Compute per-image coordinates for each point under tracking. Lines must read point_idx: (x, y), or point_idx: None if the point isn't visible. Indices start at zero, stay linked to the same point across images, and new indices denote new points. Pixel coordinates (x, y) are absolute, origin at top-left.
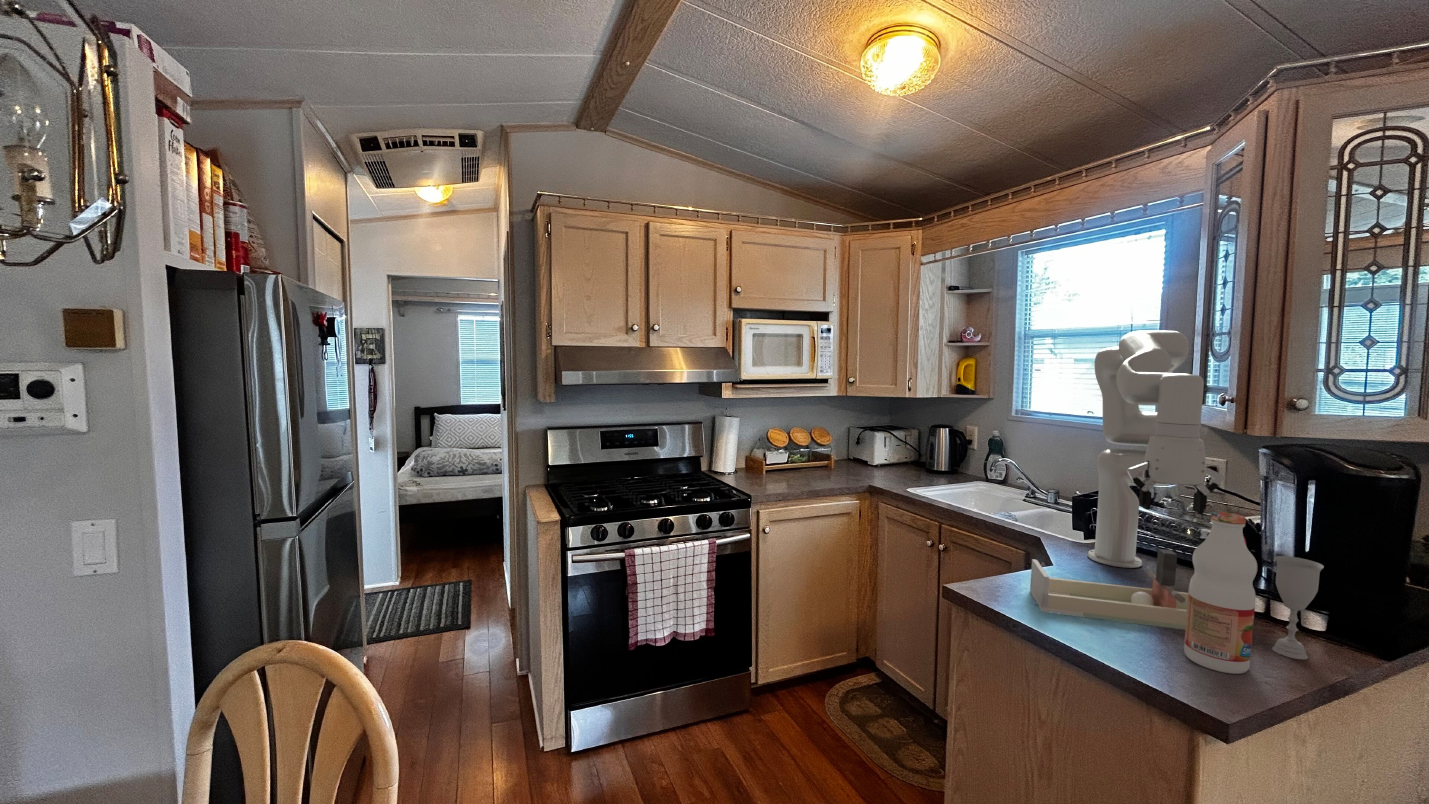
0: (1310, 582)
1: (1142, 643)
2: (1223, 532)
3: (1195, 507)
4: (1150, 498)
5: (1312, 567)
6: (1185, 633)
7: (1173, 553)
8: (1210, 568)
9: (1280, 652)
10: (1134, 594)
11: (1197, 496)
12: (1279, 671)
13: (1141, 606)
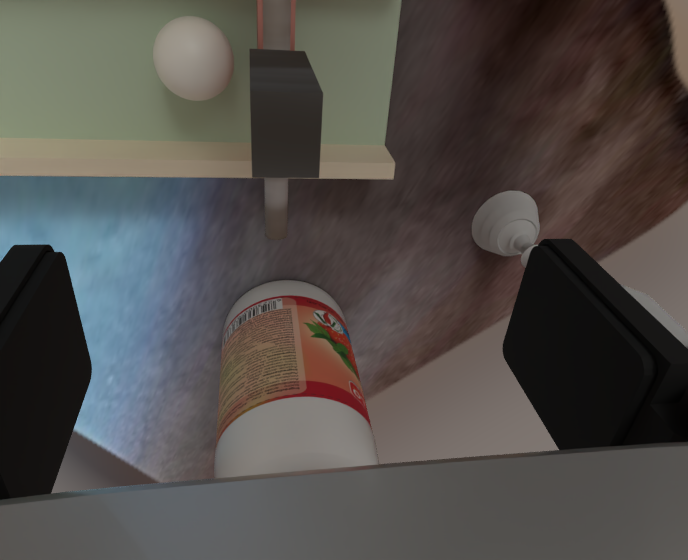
0: None
1: (139, 286)
2: None
3: (539, 309)
4: (51, 469)
5: None
6: (222, 353)
7: (307, 162)
8: None
9: (476, 237)
10: (159, 62)
11: (596, 425)
12: (403, 324)
13: (159, 175)
